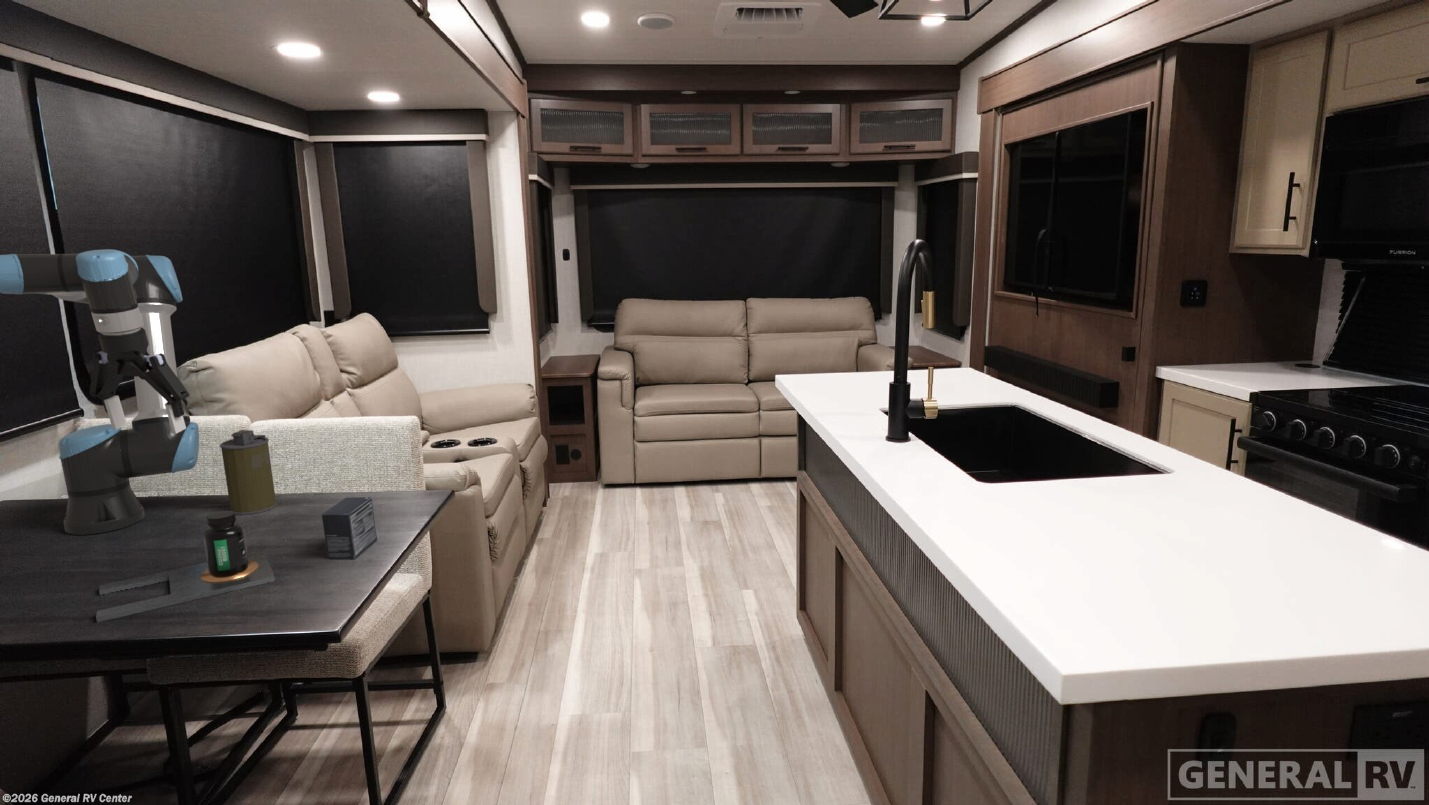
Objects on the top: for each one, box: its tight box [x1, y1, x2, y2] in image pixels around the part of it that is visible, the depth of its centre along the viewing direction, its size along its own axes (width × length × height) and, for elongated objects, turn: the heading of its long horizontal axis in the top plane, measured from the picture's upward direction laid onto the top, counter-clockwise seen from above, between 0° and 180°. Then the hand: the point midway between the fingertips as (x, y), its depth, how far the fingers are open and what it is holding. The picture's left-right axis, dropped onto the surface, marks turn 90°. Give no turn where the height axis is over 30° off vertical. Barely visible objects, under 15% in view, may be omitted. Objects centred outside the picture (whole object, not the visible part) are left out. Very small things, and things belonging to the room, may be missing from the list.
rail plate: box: [95, 550, 276, 623], centre depth 151 cm, size 28×16×1 cm, turn 126°
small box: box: [321, 496, 378, 560], centre depth 167 cm, size 11×6×10 cm, turn 178°
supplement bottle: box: [203, 510, 249, 577], centre depth 153 cm, size 7×7×12 cm
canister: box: [219, 429, 278, 516], centre depth 191 cm, size 11×10×20 cm
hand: (149, 429), depth 158 cm, fingers open, 13 cm apart
